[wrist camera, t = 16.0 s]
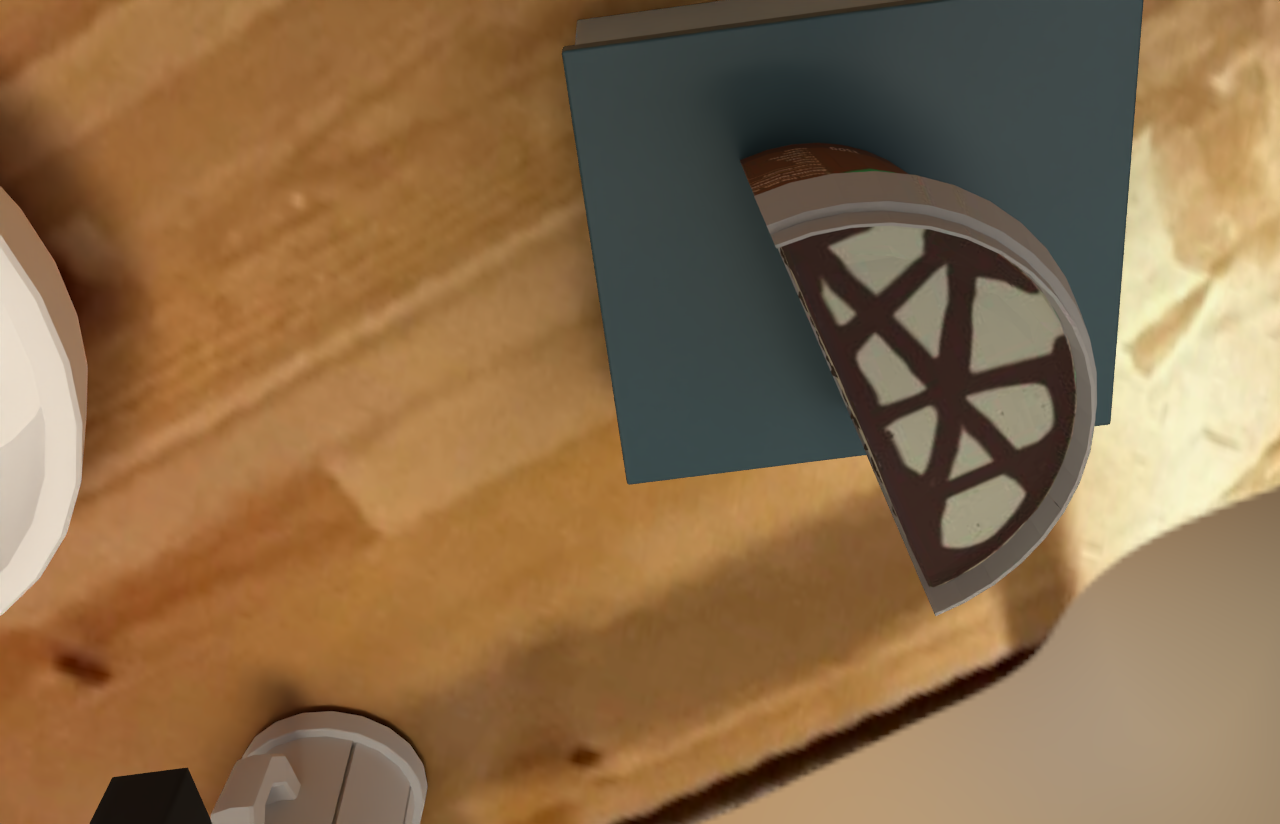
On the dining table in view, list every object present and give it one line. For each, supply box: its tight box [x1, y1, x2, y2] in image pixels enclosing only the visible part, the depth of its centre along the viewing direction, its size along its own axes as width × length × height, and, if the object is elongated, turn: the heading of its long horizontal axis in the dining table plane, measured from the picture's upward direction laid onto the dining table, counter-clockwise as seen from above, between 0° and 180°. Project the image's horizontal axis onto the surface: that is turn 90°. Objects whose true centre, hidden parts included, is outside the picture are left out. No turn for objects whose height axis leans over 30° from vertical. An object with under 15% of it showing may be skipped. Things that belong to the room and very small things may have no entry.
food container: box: [740, 143, 1097, 616], centre depth 31 cm, size 12×6×10 cm, turn 25°
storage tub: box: [562, 0, 1143, 484], centre depth 39 cm, size 17×15×7 cm
